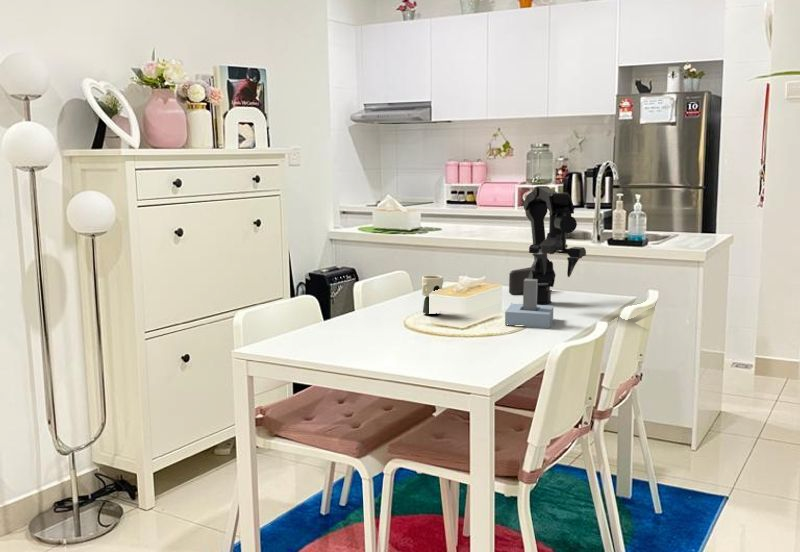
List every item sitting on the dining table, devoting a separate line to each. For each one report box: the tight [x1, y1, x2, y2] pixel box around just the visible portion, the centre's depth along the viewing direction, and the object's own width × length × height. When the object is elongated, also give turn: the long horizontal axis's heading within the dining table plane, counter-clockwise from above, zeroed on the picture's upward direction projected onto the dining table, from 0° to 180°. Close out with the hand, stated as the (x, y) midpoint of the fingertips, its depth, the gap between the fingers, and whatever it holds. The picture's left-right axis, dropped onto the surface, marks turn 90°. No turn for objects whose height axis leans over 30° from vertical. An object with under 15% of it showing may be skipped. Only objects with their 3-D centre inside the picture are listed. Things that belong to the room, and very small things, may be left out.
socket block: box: [504, 302, 555, 329], centre depth 266 cm, size 14×14×4 cm
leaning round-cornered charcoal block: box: [508, 266, 531, 296], centre depth 317 cm, size 16×5×9 cm, turn 134°
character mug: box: [421, 274, 444, 315], centre depth 277 cm, size 11×7×13 cm, turn 145°
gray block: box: [522, 279, 538, 311], centre depth 265 cm, size 4×4×13 cm
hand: (556, 275), depth 279 cm, fingers open, 9 cm apart
